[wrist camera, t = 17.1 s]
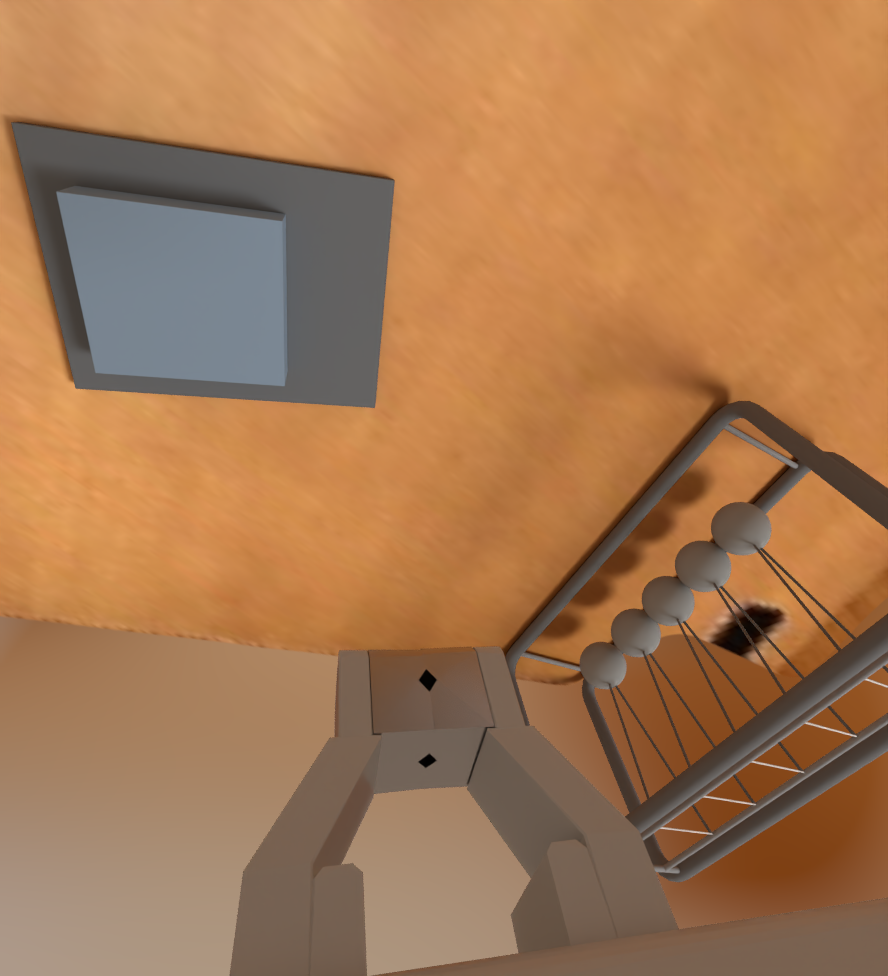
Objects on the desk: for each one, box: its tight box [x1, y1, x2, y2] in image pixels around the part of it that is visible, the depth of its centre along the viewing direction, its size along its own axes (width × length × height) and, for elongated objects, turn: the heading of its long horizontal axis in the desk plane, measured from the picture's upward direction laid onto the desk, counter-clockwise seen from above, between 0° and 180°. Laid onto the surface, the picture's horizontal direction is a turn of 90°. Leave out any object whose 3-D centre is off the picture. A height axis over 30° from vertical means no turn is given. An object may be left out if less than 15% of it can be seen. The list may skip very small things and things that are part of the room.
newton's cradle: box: [505, 401, 888, 882], centre depth 38 cm, size 30×10×18 cm, turn 150°
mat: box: [11, 122, 394, 408], centre depth 28 cm, size 12×16×1 cm
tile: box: [56, 186, 288, 386], centre depth 27 cm, size 2×8×9 cm
